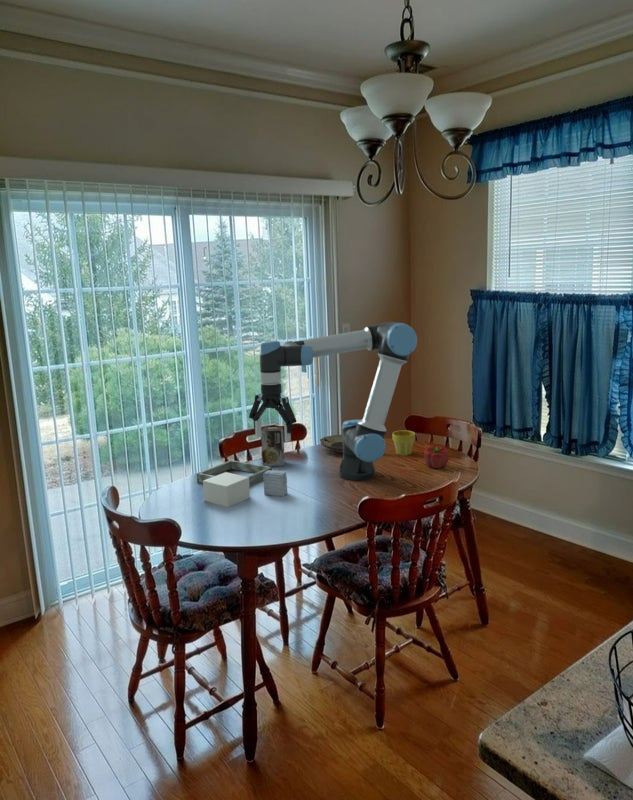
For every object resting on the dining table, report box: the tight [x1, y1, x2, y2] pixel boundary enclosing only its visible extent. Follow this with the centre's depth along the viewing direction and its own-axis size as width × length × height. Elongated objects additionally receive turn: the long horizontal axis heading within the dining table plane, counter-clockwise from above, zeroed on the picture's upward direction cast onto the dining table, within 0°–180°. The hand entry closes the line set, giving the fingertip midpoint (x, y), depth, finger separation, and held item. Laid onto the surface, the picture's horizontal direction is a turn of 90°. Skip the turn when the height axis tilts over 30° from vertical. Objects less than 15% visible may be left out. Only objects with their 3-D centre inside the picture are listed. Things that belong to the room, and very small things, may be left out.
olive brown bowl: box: [319, 434, 343, 454], centre depth 283 cm, size 22×30×8 cm
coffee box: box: [260, 426, 286, 467], centre depth 267 cm, size 9×6×16 cm
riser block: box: [202, 471, 251, 508], centre depth 225 cm, size 12×12×8 cm
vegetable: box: [423, 444, 450, 469], centre depth 255 cm, size 11×10×10 cm
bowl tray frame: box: [196, 459, 273, 487], centre depth 249 cm, size 22×21×4 cm
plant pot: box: [391, 429, 416, 456], centre depth 277 cm, size 10×10×10 cm
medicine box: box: [263, 469, 288, 497], centre depth 229 cm, size 8×4×9 cm, turn 71°
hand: (272, 439), depth 226 cm, fingers open, 13 cm apart
